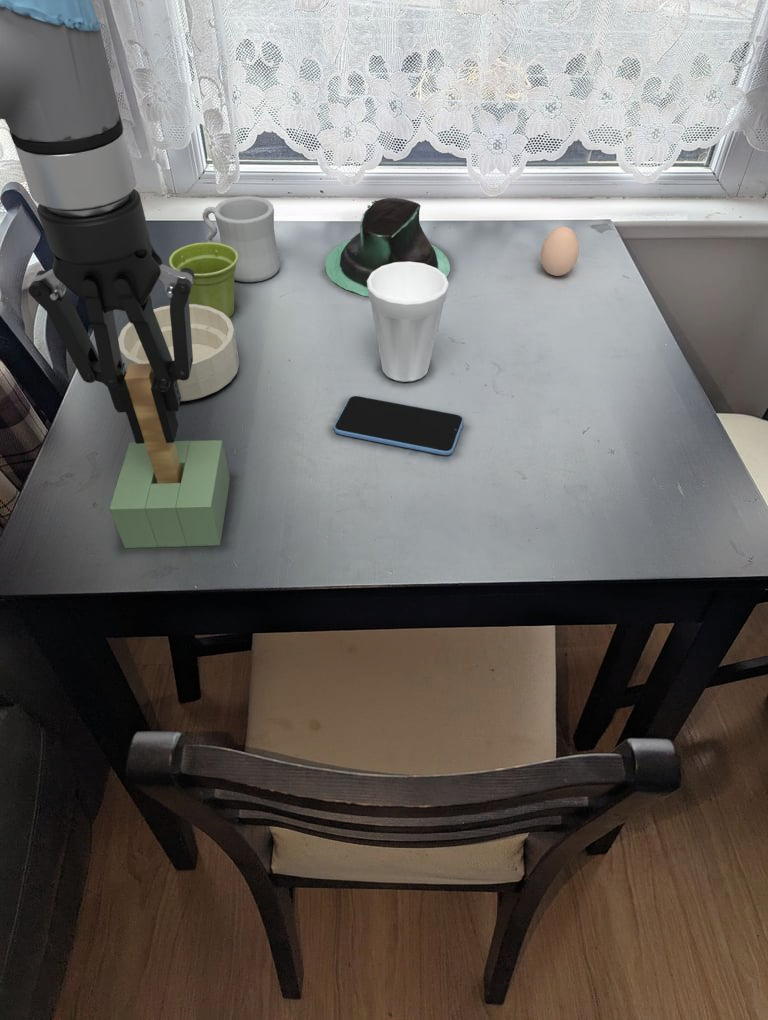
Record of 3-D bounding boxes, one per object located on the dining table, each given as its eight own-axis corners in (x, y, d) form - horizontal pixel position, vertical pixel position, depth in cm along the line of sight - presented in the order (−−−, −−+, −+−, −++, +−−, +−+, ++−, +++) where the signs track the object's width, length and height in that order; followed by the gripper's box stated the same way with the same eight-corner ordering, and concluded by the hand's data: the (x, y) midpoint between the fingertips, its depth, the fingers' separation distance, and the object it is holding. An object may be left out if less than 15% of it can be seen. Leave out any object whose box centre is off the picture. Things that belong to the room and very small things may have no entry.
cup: (364, 391, 95) (363, 301, 85) (371, 347, 102) (370, 259, 92) (441, 394, 94) (448, 304, 85) (442, 350, 101) (449, 262, 92)
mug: (291, 263, 118) (285, 201, 111) (262, 289, 112) (254, 226, 105) (225, 247, 121) (215, 187, 114) (194, 273, 116) (182, 211, 108)
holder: (124, 548, 76) (108, 509, 72) (142, 481, 83) (129, 441, 79) (220, 545, 77) (210, 506, 72) (230, 479, 84) (222, 439, 79)
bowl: (158, 421, 91) (147, 381, 86) (112, 365, 98) (100, 327, 94) (259, 379, 97) (253, 340, 92) (208, 330, 104) (201, 292, 100)
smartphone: (350, 393, 93) (465, 414, 90) (350, 398, 94) (464, 420, 91) (331, 429, 88) (452, 452, 85) (331, 434, 89) (451, 458, 86)
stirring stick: (167, 514, 79) (124, 378, 65) (170, 499, 80) (129, 363, 67) (187, 513, 79) (148, 377, 66) (190, 499, 80) (153, 363, 67)
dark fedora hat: (448, 299, 109) (315, 296, 110) (448, 296, 126) (334, 293, 128) (453, 190, 104) (314, 188, 106) (453, 203, 122) (334, 201, 123)
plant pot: (210, 289, 112) (200, 235, 106) (258, 307, 109) (251, 252, 102) (167, 318, 107) (154, 262, 100) (217, 337, 103) (207, 281, 97)
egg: (578, 282, 114) (588, 235, 109) (543, 284, 114) (551, 237, 108) (567, 263, 118) (577, 218, 112) (533, 266, 118) (540, 220, 112)
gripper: (196, 173, 57) (239, 408, 75) (-1, 175, 57) (88, 411, 74) (182, 216, 52) (231, 458, 69) (-35, 219, 52) (69, 462, 69)
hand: (157, 433), depth 72 cm, fingers closed on stirring stick, 2 cm apart
